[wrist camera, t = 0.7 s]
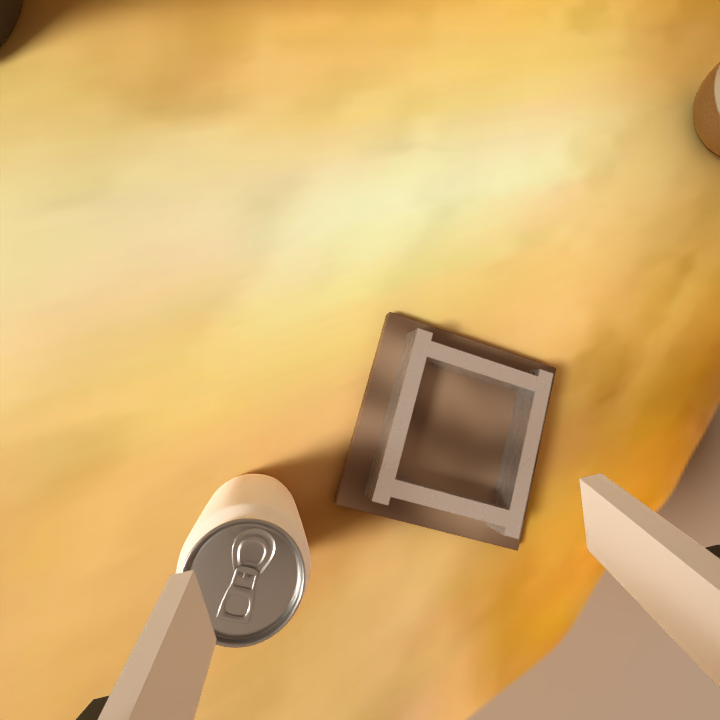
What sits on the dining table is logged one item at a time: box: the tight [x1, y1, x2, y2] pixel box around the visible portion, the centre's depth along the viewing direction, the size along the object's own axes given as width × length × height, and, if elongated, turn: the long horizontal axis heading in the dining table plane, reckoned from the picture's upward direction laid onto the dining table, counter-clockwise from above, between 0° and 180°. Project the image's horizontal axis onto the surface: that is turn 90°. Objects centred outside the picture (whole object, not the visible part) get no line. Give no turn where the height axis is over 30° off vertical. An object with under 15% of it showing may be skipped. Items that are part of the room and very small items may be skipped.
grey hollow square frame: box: [364, 328, 553, 539], centre depth 33 cm, size 13×11×2 cm
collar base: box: [334, 312, 556, 551], centre depth 35 cm, size 15×15×1 cm
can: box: [176, 474, 310, 648], centre depth 26 cm, size 6×6×12 cm
